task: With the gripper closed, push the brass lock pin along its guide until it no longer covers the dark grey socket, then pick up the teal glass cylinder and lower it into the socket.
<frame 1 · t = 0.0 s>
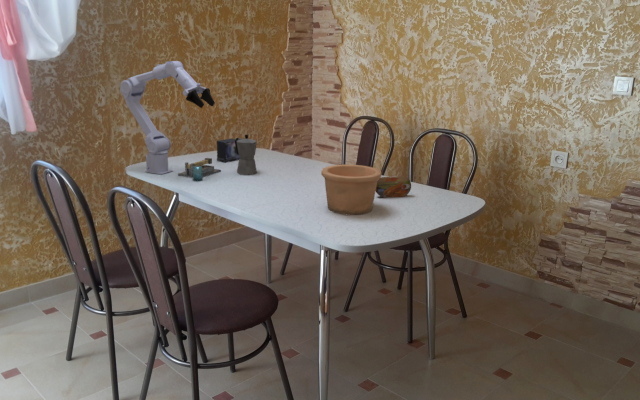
hand: (208, 105, 231), 32 cm above the table, tool tilted 50°, fingers open, 7 cm apart
coffeepot: (245, 172, 254), on the table
pottery: (349, 208, 203), on the table
teal glass cylinder: (198, 180, 238), on the table
small box: (228, 160, 280), on the table
dock: (200, 173, 250), on the table
lock pin: (199, 163, 249), point 5 cm above the table, slide at 0.0 cm
tin: (392, 197, 221), on the table
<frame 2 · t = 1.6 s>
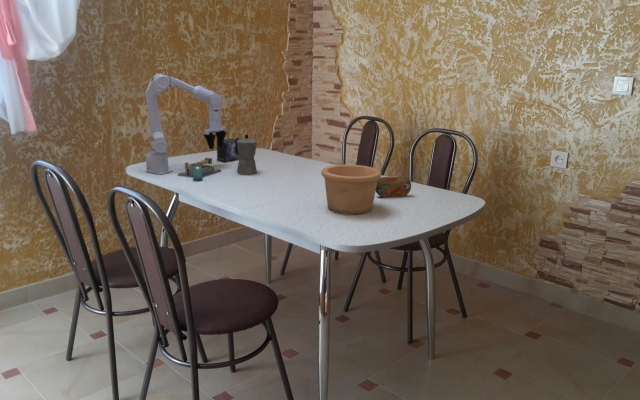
hand: (215, 147, 259), 10 cm above the table, tool pointing down, fingers open, 7 cm apart
nothing on the table moved.
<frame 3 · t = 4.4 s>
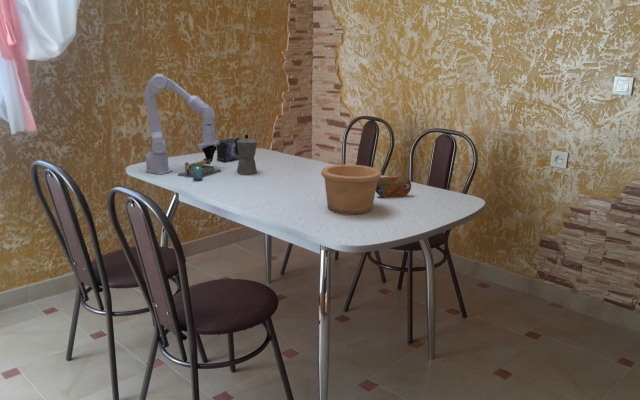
hand: (209, 161, 256), 4 cm above the table, tool pointing down, fingers closed
lock pin: (197, 164, 248), point 5 cm above the table, slide at 1.1 cm, touching gripper
everything else where it was.
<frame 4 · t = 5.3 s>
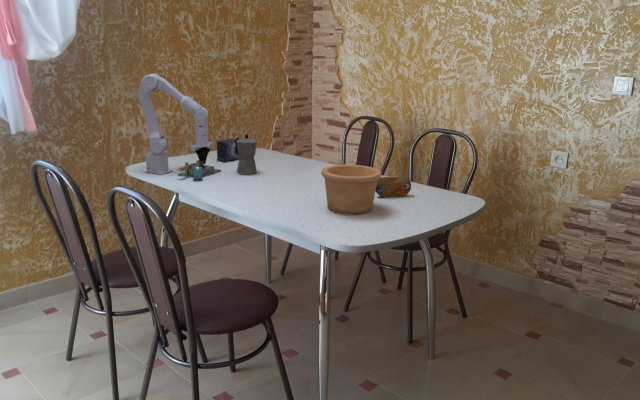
hand: (202, 163, 251), 4 cm above the table, tool pointing down, fingers closed
lock pin: (190, 166, 243), point 5 cm above the table, slide at 6.4 cm, touching gripper
everything else where it was.
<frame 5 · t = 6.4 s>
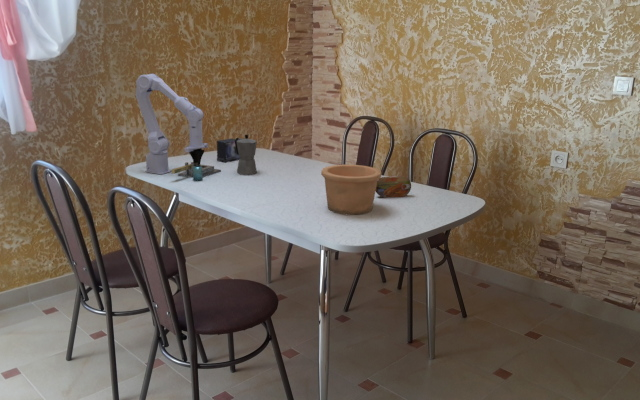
hand: (197, 165, 248), 4 cm above the table, tool pointing down, fingers closed
lock pin: (184, 168, 240), point 5 cm above the table, slide at 10.7 cm, touching gripper
everything else where it was.
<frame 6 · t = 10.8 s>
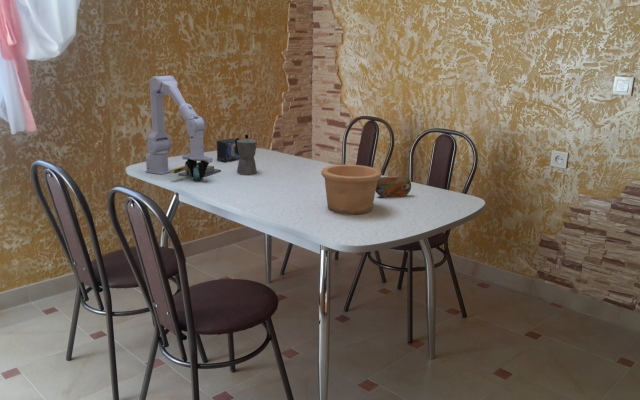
hand: (197, 177, 238), 1 cm above the table, tool pointing down, fingers closed on teal glass cylinder, 4 cm apart
teal glass cylinder: (198, 180, 238), on the table, touching gripper
lock pin: (184, 168, 239), point 5 cm above the table, slide at 11.0 cm
everything else where it was.
when the fingers open (3 cm above the table, at t = 14.5 s): teal glass cylinder stays where it is, resting on dock.
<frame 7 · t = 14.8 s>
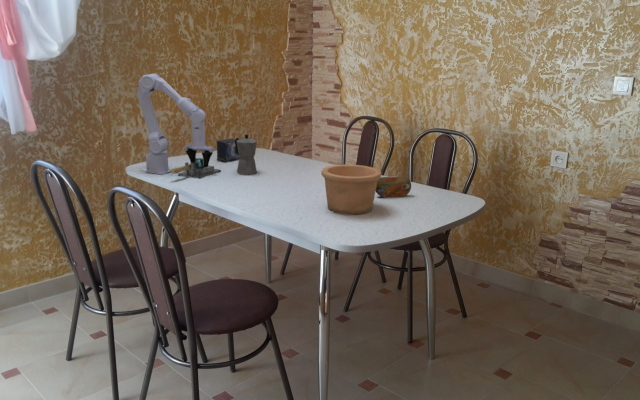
hand: (199, 166, 249), 3 cm above the table, tool pointing down, fingers open, 6 cm apart
teal glass cylinder: (199, 171, 250), point 1 cm above the table, touching dock
everything else where it was.
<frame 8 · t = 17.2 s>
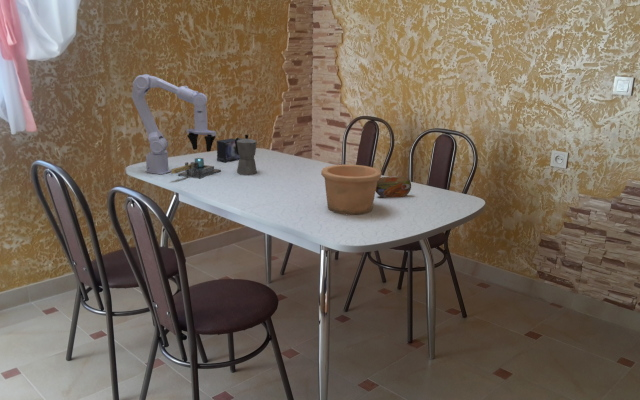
hand: (201, 150, 249), 10 cm above the table, tool pointing down, fingers open, 7 cm apart
nothing on the table moved.
at the end: lock pin slide at 11.0 cm; teal glass cylinder 0.2 cm off-centre on the dock, point 0.9 cm above the dock's base; teal glass cylinder tilted 2° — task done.
